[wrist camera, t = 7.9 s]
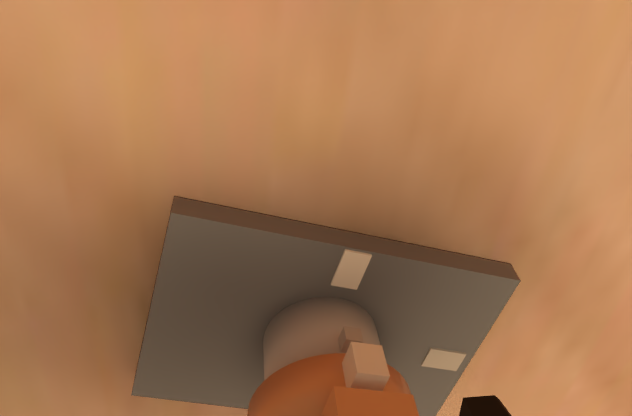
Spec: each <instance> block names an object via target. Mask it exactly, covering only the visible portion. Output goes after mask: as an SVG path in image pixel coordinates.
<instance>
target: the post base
mask: <svg viewBox="0 0 632 416" xmlns="http://www.w3.org/2000/svg"><path fill="white" fill-rule="evenodd" d="M519 283H520V279H519V277H518V275H517V274H516V272H515V270H514V269H513V267H512V265H511V264H508V263H503V262H498V261H493V260H488V259H483V258H478V257H473V256H468V255H463V254H458V253H453V252H448V251H444V250H439V249H434V248H429V247H424V246H419V245H414V244H409V243H404V242H399V241H394V240H389V239H384V238H379V237H374V236H369V235H364V234H359V233H354V232H349V231H344V230H339V229H334V228H330V227H325V226H320V225H315V224H310V223H305V222H300V221H295V220H290V219H285V218H280V217H275V216H270V215H265V214H260V213H255V212H250V211H245V210H240V209H235V208H230V207H225V206H220V205H216V204H211V203H206V202H201V201H196V200H191V199H186V198H181V197H176V196H174V199H173V204H172V209H171V213H170V218H169V223H168V227H167V232H166V236H165V241H164V246H163V250H162V255H161V259H160V264H159V269H158V273H157V278H156V282H155V287H154V292H153V296H152V301H151V305H150V310H149V315H148V319H147V324H146V329H145V333H144V338H143V342H142V347H141V352H140V356H139V361H138V365H137V370H136V375H135V380H134V385H133V390H132V395H134V396H142V397H151V398H159V399H168V400H176V401H184V402H193V403H201V404H210V405H218V406H227V407H235V408H244V409H248V407H249V403H250V400H251V398H252V396H253V394H254V393H255V391H256V389H257V388H258V387H259V386H260V385H261V384H262V382H263V381H264V380H266V379H267V378H268V377H269V376H270V375H272V374H273V373H275V372H276V371H278V370H279V369H281V368H283V367H285V366H287V365H289V364H291V363H293V362H296V361H298V360H302V359H305V358H308V357H312V356H317V355H323V354H332V353H346V352H347V350H348V348H349V345H350V343H351V342H359V343H366V344H374V345H382V347H383V351H384V355H385V359H386V363H387V364H388V365H390V366H391V367H393V368H394V369H395V370H397V371H398V372H399V373H400V374H401V375H402V376H403V378H404V379H405V380H406V382H407V384H408V386H409V389H410V392H411V395H413V396H414V400H415V403H416V407H417V410H418V414H419V416H436V414H437V413H438V411H439V410H440V408H441V406H442V405H443V403H444V402H445V400H446V399H447V397H448V395H449V394H450V392H451V391H452V389H453V387H454V386H455V384H456V383H457V381H458V379H459V378H460V376H461V375H462V373H463V372H464V370H465V368H466V367H467V365H468V364H469V362H470V360H471V359H472V357H473V356H474V354H475V352H476V351H477V349H478V348H479V346H480V345H481V343H482V341H483V340H484V338H485V337H486V335H487V333H488V332H489V330H490V329H491V327H492V326H493V324H494V322H495V321H496V319H497V318H498V316H499V314H500V313H501V311H502V310H503V308H504V306H505V305H506V303H507V302H508V300H509V299H510V297H511V295H512V294H513V292H514V291H515V289H516V287H517V286H518V284H519Z"/></svg>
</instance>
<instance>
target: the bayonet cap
mask: <svg viewBox="0 0 632 416" xmlns="http://www.w3.org/2000/svg"><path fill="white" fill-rule="evenodd" d="M248 416H419V414H418V410H417V407H416V403H415V400H414V396H413V395H411V392H410V389H409V386H408V384H407V382H406V380H405V379H404V378H403V376H402V375H401V374H400V373H399V372H398V371H397V370H395V369H394V368H393V367H391V366H390V365H388V364H387V363H386V359H385V355H384V351H383V347H382V345H374V344H366V343H359V342H351V343H350V345H349V348H348V350H347V352H346V353H332V354H323V355H317V356H312V357H308V358H305V359H302V360H298V361H296V362H293V363H291V364H289V365H287V366H285V367H283V368H281V369H279V370H278V371H276V372H275V373H273V374H272V375H270V376H269V377H268V378H267V379H266V380H264V381H263V382H262V384H261V385H260V386H259V387H258V388H257V389H256V391H255V393H254V394H253V396H252V398H251V400H250V403H249V407H248Z"/></svg>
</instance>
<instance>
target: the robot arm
mask: <svg viewBox="0 0 632 416" xmlns="http://www.w3.org/2000/svg"><path fill="white" fill-rule="evenodd" d="M459 416H511V414H510V413H509V412H508V410H507V409H506V408H505V406H504V405H503V404H502V402H501V401H500V400H499V399H498V398H497V397H496V396H495V395H493V396H480V397H467V398H463V401H462V405H461V410H460V414H459Z"/></svg>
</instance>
